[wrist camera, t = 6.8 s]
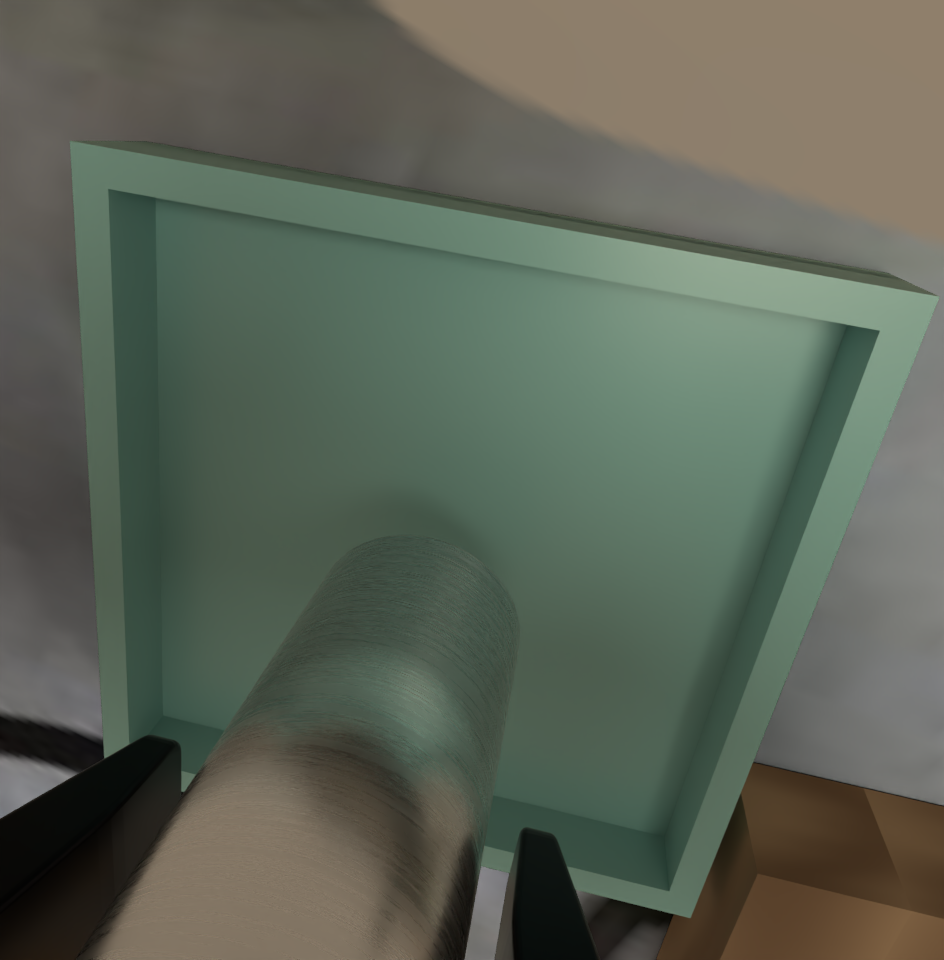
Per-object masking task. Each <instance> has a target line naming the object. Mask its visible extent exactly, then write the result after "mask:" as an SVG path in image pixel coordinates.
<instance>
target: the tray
mask: <svg viewBox="0 0 944 960" xmlns="http://www.w3.org/2000/svg"><path fill="white" fill-rule="evenodd" d="M70 152H71V170H72V188H73V206H74V223H75V241H76V259H77V277H78V295H79V313H80V331H81V349H82V367H83V385H84V403H85V420H86V438H87V456H88V474H89V492H90V510H91V528H92V546H93V564H94V582H95V600H96V618H97V635H98V653H99V671H100V689H101V707H102V725H103V743H104V759H105V758H106V757H108V756H110V755H111V754H113V753H115V752H117V751H118V750H120V749H122V748H124V747H125V746H127V745H129V744H131V743H132V742H134V741H136V740H138V739H139V738H141V737H143V736H146V735H156V736H160V737H164V738H168V739H173V740H176V741H177V742H179V744H180V746H181V791H182V792H185V790H186V789H187V787H188V786H189V784H190V783H191V781H192V780H193V778H194V777H195V775H196V773H197V772H198V770H199V769H200V767H201V766H202V764H203V763H204V761H205V760H206V758H207V757H208V755H209V754H210V752H211V751H212V749H213V748H214V746H215V744H216V743H217V741H218V740H219V738H220V737H221V735H222V734H223V732H224V731H225V729H226V728H227V726H228V725H229V723H230V722H231V720H232V719H233V717H234V715H235V714H236V712H237V711H238V709H239V708H240V706H241V705H242V703H243V702H244V700H245V699H246V697H247V696H248V694H249V693H250V691H251V689H252V688H253V686H254V685H255V683H256V682H257V680H258V679H259V677H260V676H261V674H262V673H263V671H264V670H265V668H266V667H267V665H268V664H269V662H270V660H271V659H272V657H273V656H274V654H275V653H276V651H277V650H278V648H279V647H280V645H281V644H282V642H283V641H284V639H285V638H286V636H287V635H288V633H289V631H290V630H291V628H292V627H293V625H294V624H295V622H296V621H297V619H298V618H299V616H300V615H301V613H302V612H303V610H304V609H305V607H306V605H307V604H308V602H309V601H310V599H311V598H312V596H313V595H314V593H315V592H316V590H317V589H318V587H319V586H320V584H321V583H322V581H323V580H324V578H325V576H326V575H327V573H328V572H329V571H330V569H331V568H332V567H333V565H334V564H335V563H336V562H337V561H338V560H339V559H340V558H341V557H342V556H343V555H345V554H346V553H347V552H349V551H350V550H352V549H353V548H355V547H357V546H359V545H361V544H363V543H365V542H368V541H370V540H373V539H376V538H381V537H386V536H392V535H419V536H425V537H431V538H435V539H438V540H442V541H445V542H447V543H450V544H452V545H455V546H457V547H459V548H461V549H463V550H465V551H467V552H468V553H470V554H472V555H473V556H474V557H476V558H477V559H479V560H480V561H482V562H483V563H484V564H485V565H486V566H487V567H488V568H489V569H490V570H492V571H493V573H494V574H495V575H496V576H497V577H498V578H499V579H500V581H501V582H502V583H503V585H504V586H505V588H506V589H507V591H508V592H509V594H510V597H511V599H512V601H513V603H514V605H515V608H516V611H517V614H518V619H519V625H520V644H519V651H518V657H517V663H516V669H515V674H514V680H513V686H512V691H511V697H510V703H509V708H508V714H507V720H506V725H505V731H504V737H503V743H502V748H501V754H500V760H499V765H498V771H497V777H496V782H495V788H494V794H493V799H492V805H491V811H490V817H489V822H488V828H487V834H486V839H485V845H484V851H483V856H482V862H481V866H483V867H487V868H491V869H495V870H499V871H503V872H507V873H510V869H511V865H512V861H513V857H514V853H515V849H516V845H517V841H518V837H519V834H520V831H521V830H522V828H525V827H529V828H533V829H537V830H541V831H545V832H549V833H552V834H553V835H554V836H555V837H556V838H557V840H558V843H559V846H560V848H561V851H562V854H563V857H564V860H565V862H566V865H567V868H568V871H569V874H570V876H571V879H572V882H573V885H574V887H575V890H579V891H583V892H587V893H591V894H595V895H599V896H603V897H607V898H611V899H615V900H619V901H623V902H627V903H631V904H635V905H639V906H643V907H647V908H651V909H655V910H659V911H663V912H667V913H671V914H675V915H679V916H683V917H687V918H691V916H692V913H693V911H694V908H695V906H696V903H697V901H698V898H699V896H700V893H701V891H702V888H703V886H704V883H705V881H706V878H707V876H708V873H709V871H710V868H711V866H712V863H713V861H714V858H715V856H716V853H717V851H718V848H719V846H720V843H721V841H722V838H723V836H724V833H725V831H726V828H727V826H728V823H729V821H730V818H731V816H732V814H733V811H734V809H735V806H736V804H737V801H738V799H739V796H740V794H741V791H742V789H743V786H744V784H745V781H746V779H747V776H748V774H749V771H750V769H751V766H752V764H753V761H754V759H755V756H756V754H757V751H758V749H759V746H760V744H761V741H762V739H763V736H764V734H765V731H766V729H767V726H768V724H769V721H770V719H771V716H772V714H773V711H774V709H775V706H776V704H777V701H778V699H779V696H780V694H781V691H782V689H783V686H784V684H785V681H786V679H787V676H788V674H789V671H790V669H791V666H792V664H793V661H794V659H795V656H796V654H797V651H798V649H799V646H800V644H801V641H802V639H803V636H804V634H805V631H806V629H807V626H808V624H809V621H810V619H811V616H812V614H813V611H814V609H815V606H816V604H817V601H818V599H819V597H820V594H821V592H822V589H823V587H824V584H825V582H826V579H827V577H828V574H829V572H830V569H831V567H832V564H833V562H834V559H835V557H836V554H837V552H838V549H839V547H840V544H841V542H842V539H843V537H844V534H845V532H846V529H847V527H848V524H849V522H850V519H851V517H852V514H853V512H854V509H855V507H856V504H857V502H858V499H859V497H860V494H861V492H862V489H863V487H864V484H865V482H866V479H867V477H868V474H869V472H870V469H871V467H872V464H873V462H874V459H875V457H876V454H877V452H878V449H879V447H880V444H881V442H882V439H883V437H884V434H885V432H886V429H887V427H888V424H889V422H890V419H891V417H892V414H893V412H894V409H895V407H896V404H897V402H898V399H899V397H900V394H901V392H902V389H903V387H904V384H905V382H906V380H907V377H908V375H909V372H910V370H911V367H912V365H913V362H914V360H915V357H916V355H917V352H918V350H919V347H920V345H921V342H922V340H923V337H924V335H925V332H926V330H927V327H928V325H929V322H930V320H931V317H932V315H933V312H934V310H935V307H936V305H937V302H938V300H939V296H937V295H935V294H933V293H930V292H928V291H926V290H924V289H922V288H920V287H917V286H915V285H913V284H911V283H909V282H906V281H904V280H902V279H900V278H898V277H895V276H893V275H891V274H889V273H884V272H879V271H873V270H868V269H862V268H856V267H851V266H845V265H839V264H834V263H828V262H822V261H817V260H811V259H806V258H800V257H794V256H789V255H783V254H777V253H772V252H766V251H761V250H755V249H749V248H744V247H738V246H732V245H727V244H721V243H716V242H710V241H704V240H699V239H693V238H687V237H682V236H676V235H670V234H665V233H659V232H654V231H648V230H642V229H637V228H631V227H625V226H620V225H614V224H609V223H603V222H597V221H592V220H586V219H580V218H575V217H569V216H564V215H558V214H552V213H547V212H541V211H535V210H530V209H524V208H519V207H513V206H507V205H502V204H496V203H490V202H485V201H479V200H473V199H468V198H462V197H457V196H451V195H445V194H440V193H434V192H428V191H423V190H417V189H412V188H406V187H400V186H395V185H389V184H383V183H378V182H372V181H367V180H361V179H355V178H350V177H344V176H338V175H333V174H327V173H321V172H316V171H310V170H305V169H299V168H293V167H288V166H282V165H276V164H271V163H265V162H260V161H254V160H248V159H243V158H237V157H231V156H226V155H220V154H215V153H209V152H203V151H198V150H192V149H186V148H181V147H175V146H169V145H164V144H158V143H153V142H147V141H70Z"/></svg>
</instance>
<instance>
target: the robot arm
mask: <svg viewBox="0 0 944 960" xmlns="http://www.w3.org/2000/svg"><path fill="white" fill-rule="evenodd" d="M180 795H181V746H180V744H179V742H177V741H176V740H173V739H168V738H164V737H160V736H156V735H146V736H143V737H141V738H139V739H138V740H136V741H134V742H132V743H131V744H129V745H127V746H125V747H124V748H122V749H120V750H118V751H117V752H115V753H113V754H111V755H110V756H108V757H106V758H105V759H103V760H101V761H99V762H98V763H96V764H94V765H92V766H91V767H89V768H87V769H85V770H84V771H82V772H80V773H79V774H77V775H75V776H73V777H72V778H70V779H68V780H66V781H65V782H63V783H61V784H59V785H58V786H56V787H54V788H53V789H51V790H49V791H47V792H46V793H44V794H42V795H40V796H39V797H37V798H35V799H33V800H32V801H30V802H28V803H27V804H25V805H23V806H21V807H20V808H18V809H16V810H14V811H13V812H11V813H9V814H7V815H6V816H4V817H2V818H1V819H0V960H75V958H76V957H77V955H78V954H79V952H80V951H81V949H82V948H83V946H84V945H85V943H86V942H87V940H88V938H89V937H90V935H91V934H92V932H93V931H94V929H95V928H96V926H97V925H98V923H99V922H100V920H101V919H102V917H103V916H104V914H105V912H106V911H107V909H108V908H109V906H110V905H111V903H112V902H113V900H114V899H115V897H116V896H117V894H118V893H119V891H120V890H121V888H122V887H123V885H124V883H125V882H126V880H127V879H128V877H129V876H130V874H131V873H132V871H133V870H134V868H135V867H136V865H137V864H138V862H139V861H140V859H141V858H142V856H143V854H144V853H145V851H146V850H147V848H148V847H149V845H150V844H151V842H152V841H153V839H154V838H155V836H156V835H157V833H158V832H159V830H160V828H161V827H162V825H163V824H164V822H165V821H166V819H167V818H168V816H169V815H170V813H171V812H172V810H173V809H174V807H175V806H176V804H177V803H178V801H179V799H180ZM495 960H600V957H599V954H598V952H597V949H596V946H595V943H594V941H593V938H592V935H591V932H590V929H589V927H588V924H587V921H586V918H585V915H584V913H583V910H582V907H581V904H580V901H579V899H578V896H577V893H576V890H575V887H574V885H573V882H572V879H571V876H570V874H569V871H568V868H567V865H566V862H565V860H564V857H563V854H562V851H561V848H560V846H559V843H558V840H557V838H556V837H555V836H554V835H553V834H552V833H549V832H545V831H541V830H537V829H533V828H529V827H525V828H522V830H521V831H520V834H519V837H518V841H517V845H516V849H515V853H514V857H513V861H512V865H511V869H510V873H509V877H508V882H507V887H506V893H505V899H504V905H503V911H502V917H501V923H500V929H499V935H498V942H497V948H496V954H495Z"/></svg>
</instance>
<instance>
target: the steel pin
mask: <svg viewBox="0 0 944 960" xmlns="http://www.w3.org/2000/svg"><path fill="white" fill-rule="evenodd" d="M519 644H520V625H519V619H518V614H517V611H516V608H515V605H514V603H513V601H512V599H511V597H510V594H509V592H508V591H507V589H506V588H505V586H504V585H503V583H502V582H501V581H500V579H499V578H498V577H497V576H496V575H495V574H494V573H493V571H492V570H490V569H489V568H488V567H487V566H486V565H485V564H484V563H483V562H482V561H480V560H479V559H477V558H476V557H474V556H473V555H472V554H470V553H468V552H467V551H465V550H463V549H461V548H459V547H457V546H455V545H452V544H450V543H447V542H445V541H442V540H438V539H435V538H431V537H425V536H419V535H392V536H386V537H381V538H376V539H373V540H370V541H368V542H365V543H363V544H361V545H359V546H357V547H355V548H353V549H352V550H350V551H349V552H347V553H346V554H345V555H343V556H342V557H341V558H340V559H339V560H338V561H337V562H336V563H335V564H334V565H333V567H332V568H331V569H330V571H329V572H328V573H327V575H326V576H325V578H324V580H323V581H322V583H321V584H320V586H319V587H318V589H317V590H316V592H315V593H314V595H313V596H312V598H311V599H310V601H309V602H308V604H307V605H306V607H305V609H304V610H303V612H302V613H301V615H300V616H299V618H298V619H297V621H296V622H295V624H294V625H293V627H292V628H291V630H290V631H289V633H288V635H287V636H286V638H285V639H284V641H283V642H282V644H281V645H280V647H279V648H278V650H277V651H276V653H275V654H274V656H273V657H272V659H271V660H270V662H269V664H268V665H267V667H266V668H265V670H264V671H263V673H262V674H261V676H260V677H259V679H258V680H257V682H256V683H255V685H254V686H253V688H252V689H251V691H250V693H249V694H248V696H247V697H246V699H245V700H244V702H243V703H242V705H241V706H240V708H239V709H238V711H237V712H236V714H235V715H234V717H233V719H232V720H231V722H230V723H229V725H228V726H227V728H226V729H225V731H224V732H223V734H222V735H221V737H220V738H219V740H218V741H217V743H216V744H215V746H214V748H213V749H212V751H211V752H210V754H209V755H208V757H207V758H206V760H205V761H204V763H203V764H202V766H201V767H200V769H199V770H198V772H197V773H196V775H195V777H194V778H193V780H192V781H191V783H190V784H189V786H188V787H187V789H186V790H185V792H184V793H183V795H182V796H181V798H180V799H179V801H178V803H177V804H176V806H175V807H174V809H173V810H172V812H171V813H170V815H169V816H168V818H167V819H166V821H165V822H164V824H163V825H162V827H161V828H160V830H159V832H158V833H157V835H156V836H155V838H154V839H153V841H152V842H151V844H150V845H149V847H148V848H147V850H146V851H145V853H144V854H143V856H142V858H141V859H140V861H139V862H138V864H137V865H136V867H135V868H134V870H133V871H132V873H131V874H130V876H129V877H128V879H127V880H126V882H125V883H124V885H123V887H122V888H121V890H120V891H119V893H118V894H117V896H116V897H115V899H114V900H113V902H112V903H111V905H110V906H109V908H108V909H107V911H106V912H105V914H104V916H103V917H102V919H101V920H100V922H99V923H98V925H97V926H96V928H95V929H94V931H93V932H92V934H91V935H90V937H89V938H88V940H87V942H86V943H85V945H84V946H83V948H82V949H81V951H80V952H79V954H78V955H77V957H76V958H75V960H464V959H465V953H466V947H467V942H468V936H469V930H470V925H471V919H472V913H473V908H474V902H475V896H476V891H477V885H478V879H479V873H480V868H481V862H482V856H483V851H484V845H485V839H486V834H487V828H488V822H489V817H490V811H491V805H492V799H493V794H494V788H495V782H496V777H497V771H498V765H499V760H500V754H501V748H502V743H503V737H504V731H505V725H506V720H507V714H508V708H509V703H510V697H511V691H512V686H513V680H514V674H515V669H516V663H517V657H518V651H519Z"/></svg>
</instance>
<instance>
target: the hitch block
mask: <svg viewBox="0 0 944 960" xmlns="http://www.w3.org/2000/svg"><path fill="white" fill-rule="evenodd" d="M656 960H944V807H943V806H938V805H934V804H930V803H925V802H921V801H917V800H912V799H908V798H904V797H899V796H895V795H891V794H886V793H882V792H878V791H874V790H869V789H865V788H861V787H856V786H852V785H848V784H843V783H839V782H835V781H830V780H826V779H822V778H817V777H813V776H809V775H804V774H800V773H796V772H791V771H787V770H783V769H778V768H774V767H770V766H765V765H761V764H757V763H753V764H752V766H751V769H750V771H749V774H748V776H747V779H746V781H745V784H744V786H743V789H742V791H741V794H740V796H739V799H738V801H737V804H736V806H735V809H734V811H733V814H732V816H731V818H730V821H729V823H728V826H727V828H726V831H725V833H724V836H723V838H722V841H721V843H720V846H719V848H718V851H717V853H716V856H715V858H714V861H713V863H712V866H711V868H710V871H709V873H708V876H707V878H706V881H705V883H704V886H703V888H702V891H701V893H700V896H699V898H698V901H697V903H696V906H695V908H694V911H693V913H692V916H691V918H687V917H683V916H679V915H675V914H674V915H673V917H672V920H671V922H670V925H669V928H668V930H667V933H666V935H665V938H664V941H663V943H662V946H661V948H660V951H659V953H658V956H657V959H656Z"/></svg>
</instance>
